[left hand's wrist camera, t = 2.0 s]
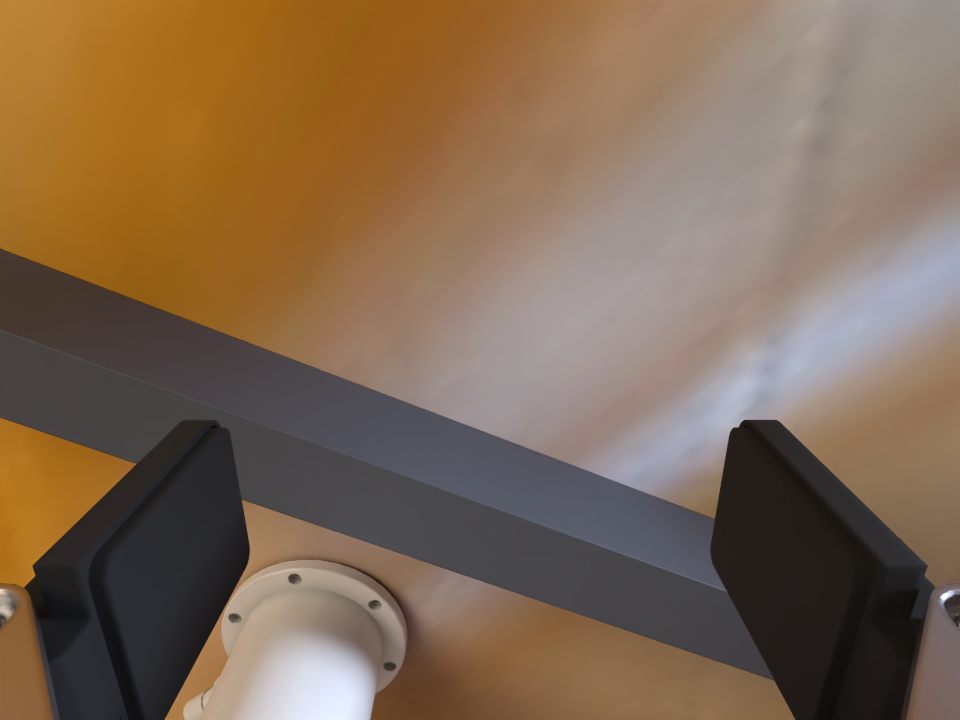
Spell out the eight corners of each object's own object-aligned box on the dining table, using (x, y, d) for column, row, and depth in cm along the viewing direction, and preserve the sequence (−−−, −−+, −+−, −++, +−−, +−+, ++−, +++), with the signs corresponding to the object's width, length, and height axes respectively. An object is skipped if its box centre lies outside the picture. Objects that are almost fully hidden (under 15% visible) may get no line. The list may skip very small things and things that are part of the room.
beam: (-187, 256, 32) (-368, 292, 25) (-185, 178, 31) (-379, 193, 24) (873, 639, 42) (950, 740, 35) (913, 594, 40) (1002, 690, 34)
